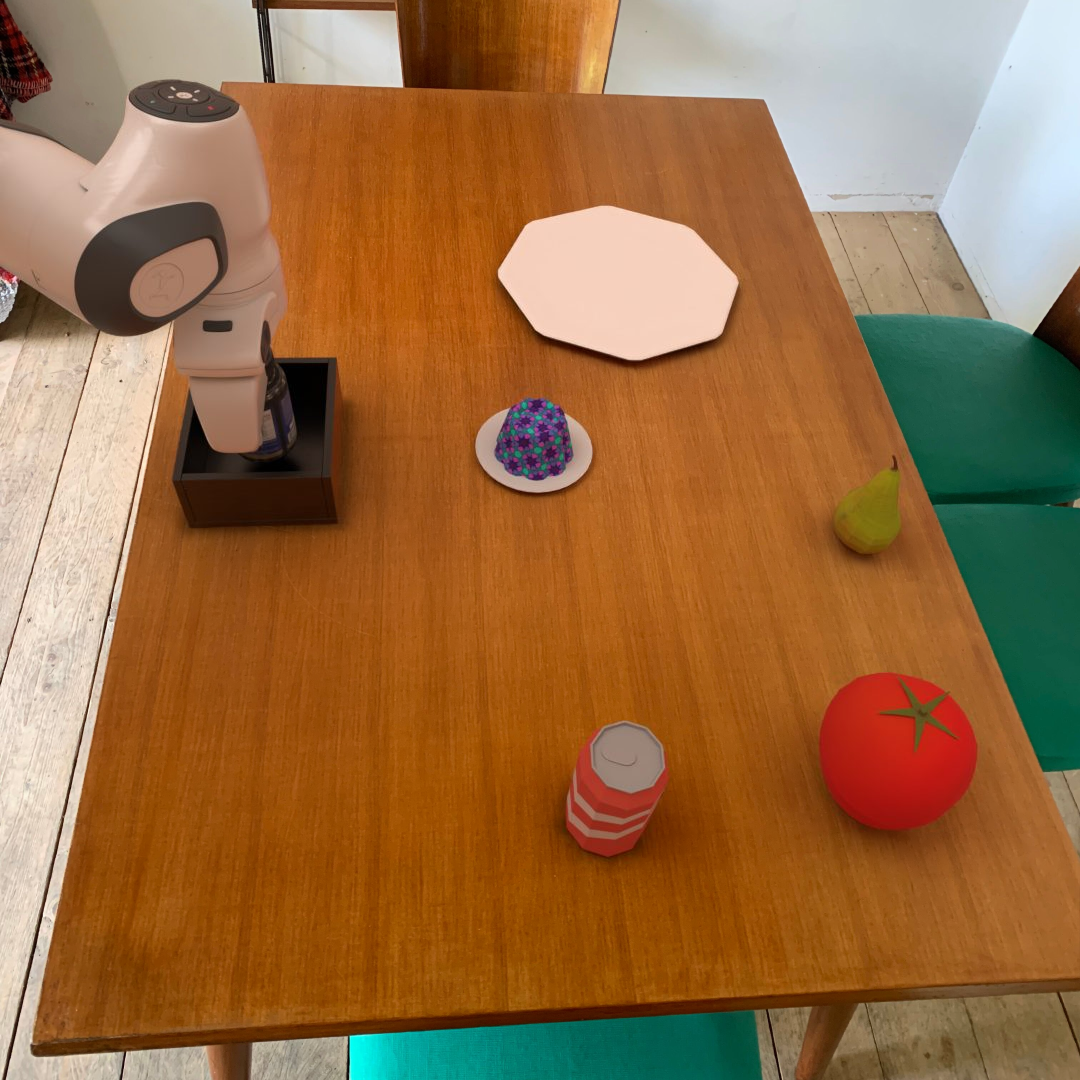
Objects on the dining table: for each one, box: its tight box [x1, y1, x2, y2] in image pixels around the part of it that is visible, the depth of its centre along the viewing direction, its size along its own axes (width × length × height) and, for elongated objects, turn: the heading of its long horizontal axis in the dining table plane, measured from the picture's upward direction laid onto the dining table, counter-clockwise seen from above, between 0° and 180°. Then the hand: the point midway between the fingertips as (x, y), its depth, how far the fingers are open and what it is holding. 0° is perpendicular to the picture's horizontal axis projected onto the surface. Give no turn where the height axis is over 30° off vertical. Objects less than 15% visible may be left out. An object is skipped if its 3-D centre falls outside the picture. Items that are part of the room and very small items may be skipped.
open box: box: [171, 356, 344, 529], centre depth 88 cm, size 14×16×7 cm
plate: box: [497, 205, 740, 362], centre depth 111 cm, size 28×28×2 cm
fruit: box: [832, 454, 902, 555], centre depth 86 cm, size 6×6×12 cm
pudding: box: [474, 397, 593, 493], centre depth 92 cm, size 12×12×5 cm
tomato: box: [818, 671, 978, 831], centre depth 70 cm, size 11×11×13 cm
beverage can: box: [565, 719, 670, 858], centre depth 67 cm, size 6×6×12 cm
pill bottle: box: [237, 347, 297, 463], centre depth 84 cm, size 6×6×11 cm
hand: (257, 411), depth 85 cm, fingers closed on pill bottle, 6 cm apart
